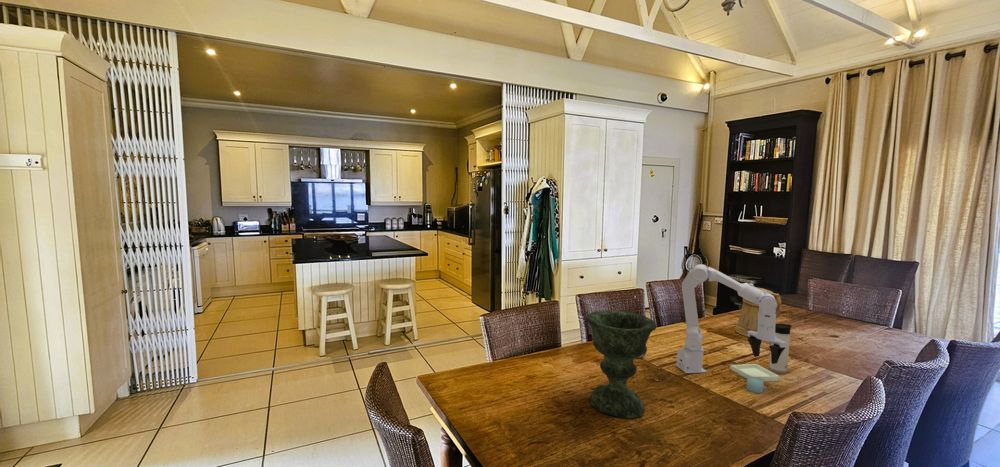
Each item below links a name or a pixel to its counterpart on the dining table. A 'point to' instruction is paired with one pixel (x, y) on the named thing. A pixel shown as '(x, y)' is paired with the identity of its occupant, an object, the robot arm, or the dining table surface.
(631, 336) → the goblet
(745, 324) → the tankard
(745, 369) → the tray
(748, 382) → the tabbed cylinder
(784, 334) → the travel mug
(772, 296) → the robot arm
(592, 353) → the dining table surface
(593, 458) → the dining table surface
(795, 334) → the dining table surface
